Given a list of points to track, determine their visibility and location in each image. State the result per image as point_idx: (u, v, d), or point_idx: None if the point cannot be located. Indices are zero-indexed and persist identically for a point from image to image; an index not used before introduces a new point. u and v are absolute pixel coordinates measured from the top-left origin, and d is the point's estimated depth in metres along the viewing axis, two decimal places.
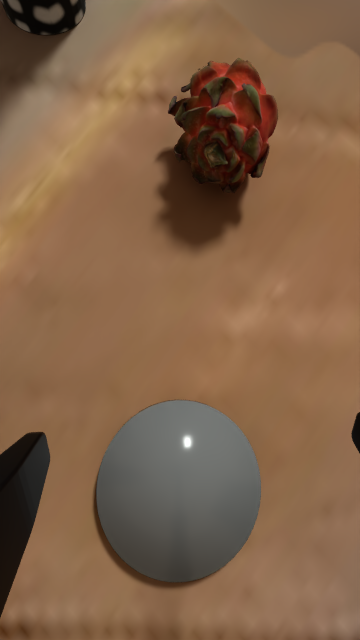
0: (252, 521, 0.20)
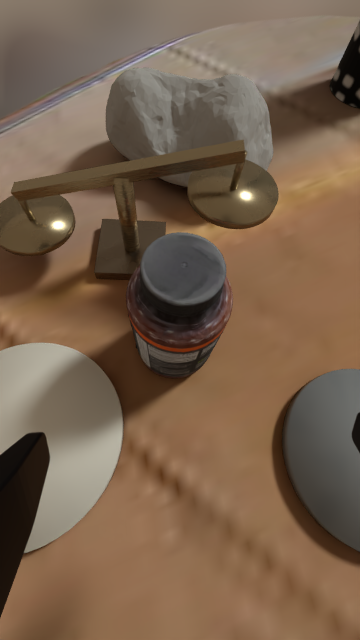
0: None
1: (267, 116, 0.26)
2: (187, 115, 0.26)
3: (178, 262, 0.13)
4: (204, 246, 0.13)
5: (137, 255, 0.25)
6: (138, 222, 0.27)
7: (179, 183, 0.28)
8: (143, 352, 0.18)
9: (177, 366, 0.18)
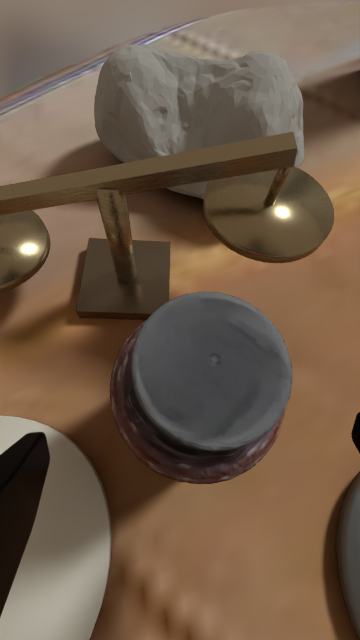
0: None
1: (301, 107, 0.20)
2: (198, 106, 0.20)
3: (203, 355, 0.07)
4: (249, 320, 0.07)
5: (134, 287, 0.19)
6: (135, 242, 0.21)
7: (187, 193, 0.22)
8: None
9: None
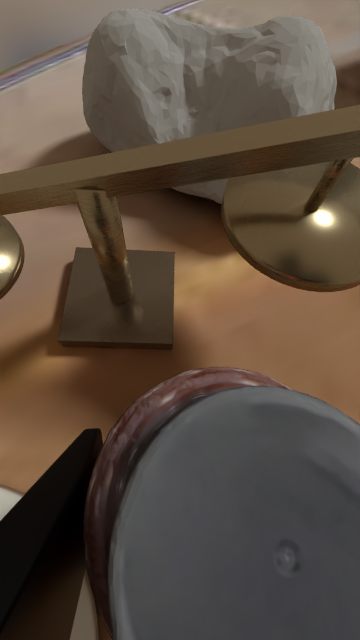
0: None
1: (334, 87, 0.17)
2: (209, 87, 0.16)
3: (263, 546, 0.03)
4: (347, 454, 0.04)
5: (130, 309, 0.16)
6: (132, 253, 0.17)
7: (195, 193, 0.19)
8: None
9: None
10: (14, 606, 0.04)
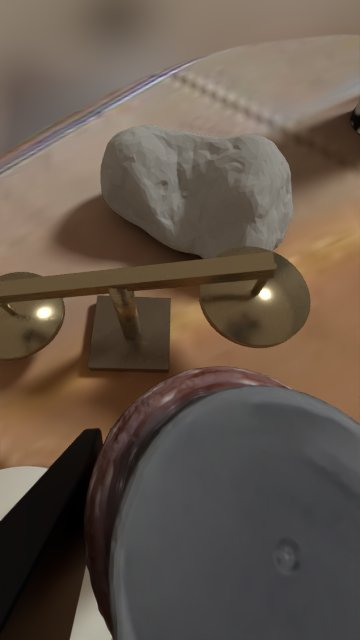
0: None
1: (289, 177, 0.23)
2: (196, 179, 0.22)
3: (263, 545, 0.03)
4: (347, 453, 0.04)
5: (138, 343, 0.22)
6: (139, 299, 0.23)
7: (187, 251, 0.24)
8: None
9: None
10: (14, 606, 0.04)
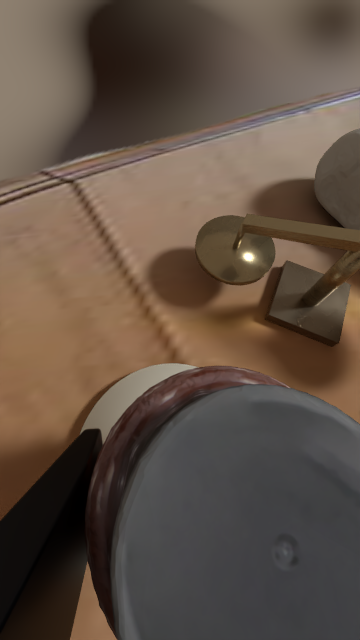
0: None
1: None
2: None
3: (262, 540, 0.03)
4: (345, 451, 0.04)
5: (315, 311, 0.24)
6: (322, 275, 0.25)
7: None
8: None
9: None
10: (14, 606, 0.04)
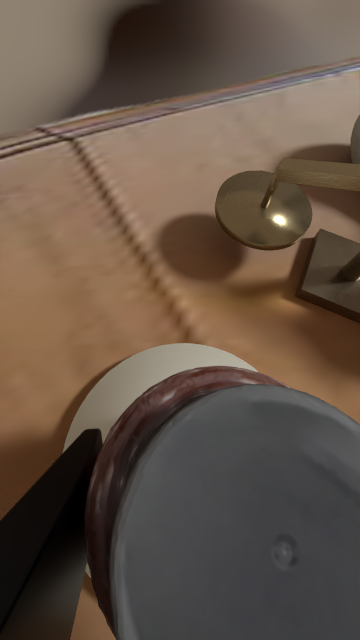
0: None
1: None
2: None
3: (262, 541, 0.03)
4: (344, 451, 0.04)
5: (357, 287, 0.20)
6: None
7: None
8: None
9: None
10: (14, 606, 0.04)
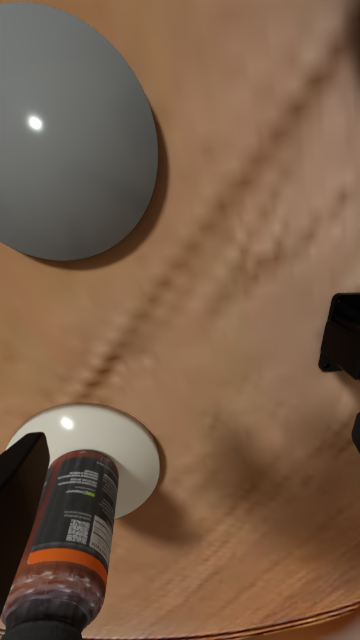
0: (134, 80, 0.15)
1: None
2: None
3: None
4: None
5: None
6: None
7: None
8: None
9: (107, 509, 0.20)
10: None
